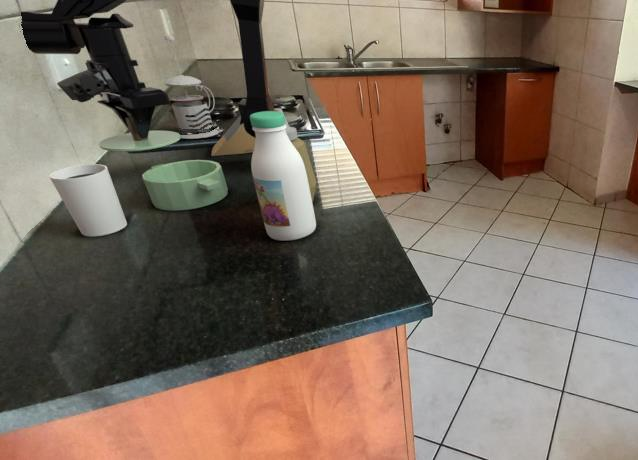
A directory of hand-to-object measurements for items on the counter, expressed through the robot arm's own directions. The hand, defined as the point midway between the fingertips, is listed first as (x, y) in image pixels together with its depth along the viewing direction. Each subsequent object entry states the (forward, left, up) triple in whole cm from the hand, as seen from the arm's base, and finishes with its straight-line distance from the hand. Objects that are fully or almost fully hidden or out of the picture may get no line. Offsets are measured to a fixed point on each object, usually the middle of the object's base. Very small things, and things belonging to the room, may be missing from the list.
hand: (140, 136), depth 87 cm
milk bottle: (-34, +28, -9) cm, 45 cm away
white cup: (-4, +24, -9) cm, 26 cm away
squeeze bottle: (-32, +16, -9) cm, 37 cm away
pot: (-12, +12, -9) cm, 19 cm away
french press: (+4, -33, -9) cm, 35 cm away
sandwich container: (-12, -19, -9) cm, 24 cm away
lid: (0, 0, -1) cm, 1 cm away
